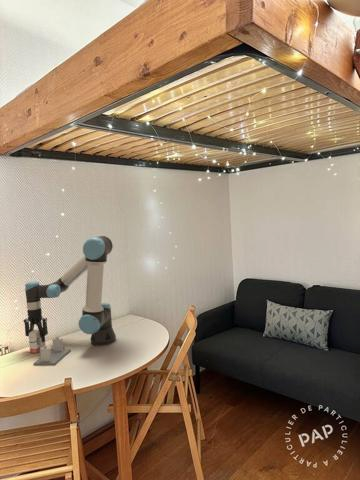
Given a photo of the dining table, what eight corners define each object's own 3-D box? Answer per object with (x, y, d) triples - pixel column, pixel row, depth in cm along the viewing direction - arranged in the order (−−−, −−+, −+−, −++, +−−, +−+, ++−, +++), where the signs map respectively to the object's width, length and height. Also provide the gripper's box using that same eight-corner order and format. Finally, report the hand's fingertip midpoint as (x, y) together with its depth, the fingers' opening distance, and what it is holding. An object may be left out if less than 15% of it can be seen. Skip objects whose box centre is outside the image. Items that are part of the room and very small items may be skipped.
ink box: (37, 353, 189) (35, 333, 188) (29, 353, 190) (27, 333, 189) (46, 347, 197) (44, 327, 197) (39, 347, 198) (37, 327, 198)
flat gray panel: (70, 351, 189) (69, 335, 188) (55, 365, 171) (53, 347, 170) (51, 351, 190) (49, 335, 190) (33, 365, 173) (31, 348, 172)
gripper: (52, 306, 194) (55, 344, 196) (23, 307, 197) (27, 345, 198) (45, 309, 187) (49, 349, 189) (15, 310, 189) (19, 350, 191)
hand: (37, 347), depth 193 cm, fingers closed on ink box, 5 cm apart
